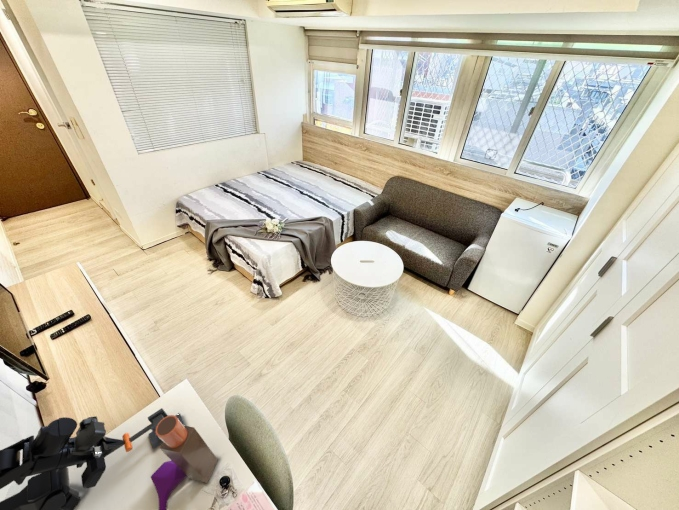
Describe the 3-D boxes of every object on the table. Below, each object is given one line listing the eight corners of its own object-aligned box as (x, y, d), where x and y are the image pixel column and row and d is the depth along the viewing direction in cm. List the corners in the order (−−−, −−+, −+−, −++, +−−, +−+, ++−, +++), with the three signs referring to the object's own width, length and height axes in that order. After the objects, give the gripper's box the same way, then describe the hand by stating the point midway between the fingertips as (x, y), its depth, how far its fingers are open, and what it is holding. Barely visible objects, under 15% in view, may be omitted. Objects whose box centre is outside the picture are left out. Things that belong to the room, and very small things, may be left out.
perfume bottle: (178, 465, 78) (152, 552, 69) (192, 461, 85) (169, 540, 76) (154, 462, 79) (125, 548, 70) (170, 458, 85) (145, 536, 76)
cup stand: (190, 478, 82) (158, 448, 69) (201, 456, 87) (174, 423, 73) (207, 483, 82) (179, 453, 68) (218, 460, 86) (194, 427, 72)
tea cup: (161, 446, 69) (150, 434, 65) (175, 425, 73) (165, 413, 69) (179, 450, 68) (168, 438, 64) (191, 429, 72) (182, 416, 68)
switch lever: (127, 453, 82) (124, 450, 81) (124, 438, 86) (120, 435, 84) (167, 425, 89) (164, 422, 87) (162, 413, 92) (159, 409, 90)
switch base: (154, 450, 89) (141, 437, 83) (150, 435, 92) (137, 422, 87) (186, 427, 94) (175, 414, 89) (180, 414, 98) (170, 400, 92)
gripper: (76, 461, 65) (145, 445, 78) (70, 404, 76) (131, 398, 89) (51, 501, 65) (125, 478, 77) (49, 438, 76) (113, 427, 89)
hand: (124, 442), depth 83 cm, fingers closed, pressing on switch lever
